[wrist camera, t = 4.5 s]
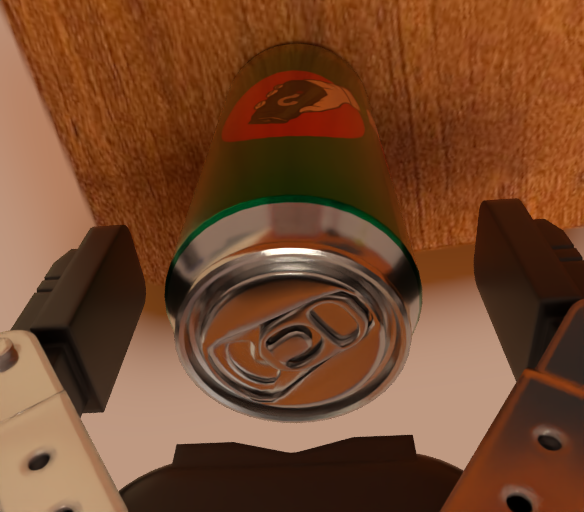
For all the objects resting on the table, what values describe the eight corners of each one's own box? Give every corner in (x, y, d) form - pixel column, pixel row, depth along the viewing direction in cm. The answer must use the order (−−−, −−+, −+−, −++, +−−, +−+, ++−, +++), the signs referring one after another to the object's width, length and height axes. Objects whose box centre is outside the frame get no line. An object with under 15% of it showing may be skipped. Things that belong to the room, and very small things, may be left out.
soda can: (197, 101, 20) (92, 330, 10) (309, 5, 18) (318, 168, 8) (287, 199, 22) (274, 467, 12) (395, 123, 20) (485, 364, 10)
